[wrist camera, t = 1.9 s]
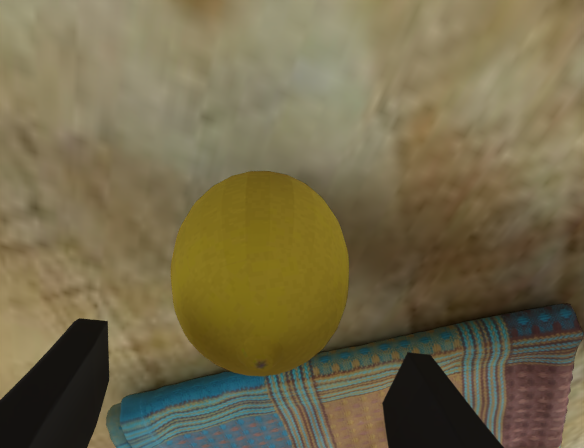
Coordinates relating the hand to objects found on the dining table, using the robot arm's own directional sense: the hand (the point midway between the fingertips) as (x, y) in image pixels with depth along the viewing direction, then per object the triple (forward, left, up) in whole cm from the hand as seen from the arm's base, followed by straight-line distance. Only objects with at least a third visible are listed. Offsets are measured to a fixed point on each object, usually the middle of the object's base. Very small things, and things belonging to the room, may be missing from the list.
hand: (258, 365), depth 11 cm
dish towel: (-8, +15, -8) cm, 19 cm away
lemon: (0, 0, -8) cm, 8 cm away
